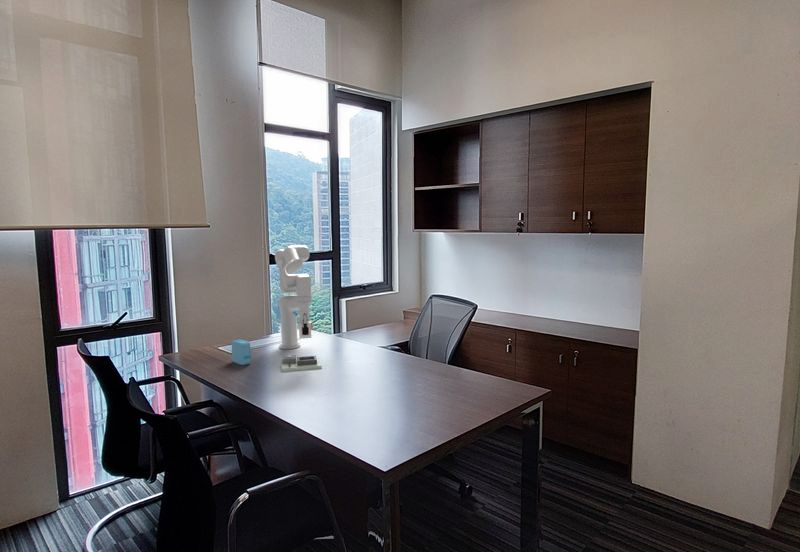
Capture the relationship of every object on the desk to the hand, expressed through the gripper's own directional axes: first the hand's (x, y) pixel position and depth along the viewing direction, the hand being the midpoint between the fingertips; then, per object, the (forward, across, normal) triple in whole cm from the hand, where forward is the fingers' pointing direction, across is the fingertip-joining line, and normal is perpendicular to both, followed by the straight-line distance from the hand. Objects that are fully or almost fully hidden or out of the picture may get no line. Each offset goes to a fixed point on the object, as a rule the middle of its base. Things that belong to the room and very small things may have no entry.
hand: (305, 333), depth 250 cm
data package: (+18, -16, -34) cm, 41 cm away
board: (+17, -1, -3) cm, 18 cm away
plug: (+2, 0, 0) cm, 2 cm away
